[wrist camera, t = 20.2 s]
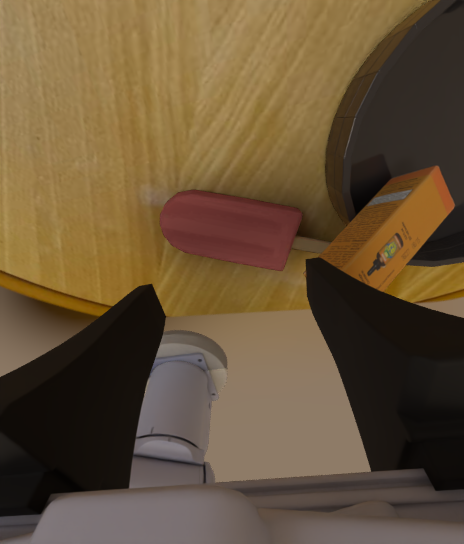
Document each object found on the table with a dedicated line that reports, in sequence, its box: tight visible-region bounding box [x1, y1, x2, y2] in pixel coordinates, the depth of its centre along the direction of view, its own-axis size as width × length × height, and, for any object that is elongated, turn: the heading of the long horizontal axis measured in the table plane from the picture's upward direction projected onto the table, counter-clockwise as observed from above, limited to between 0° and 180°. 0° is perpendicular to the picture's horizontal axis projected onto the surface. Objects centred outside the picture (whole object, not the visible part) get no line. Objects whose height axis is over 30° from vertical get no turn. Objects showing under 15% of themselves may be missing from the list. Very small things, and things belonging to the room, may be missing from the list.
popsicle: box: [160, 190, 332, 271], centre depth 20 cm, size 5×2×15 cm
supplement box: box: [303, 166, 455, 292], centre depth 16 cm, size 3×3×10 cm
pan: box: [325, 0, 464, 267], centre depth 16 cm, size 16×16×4 cm
